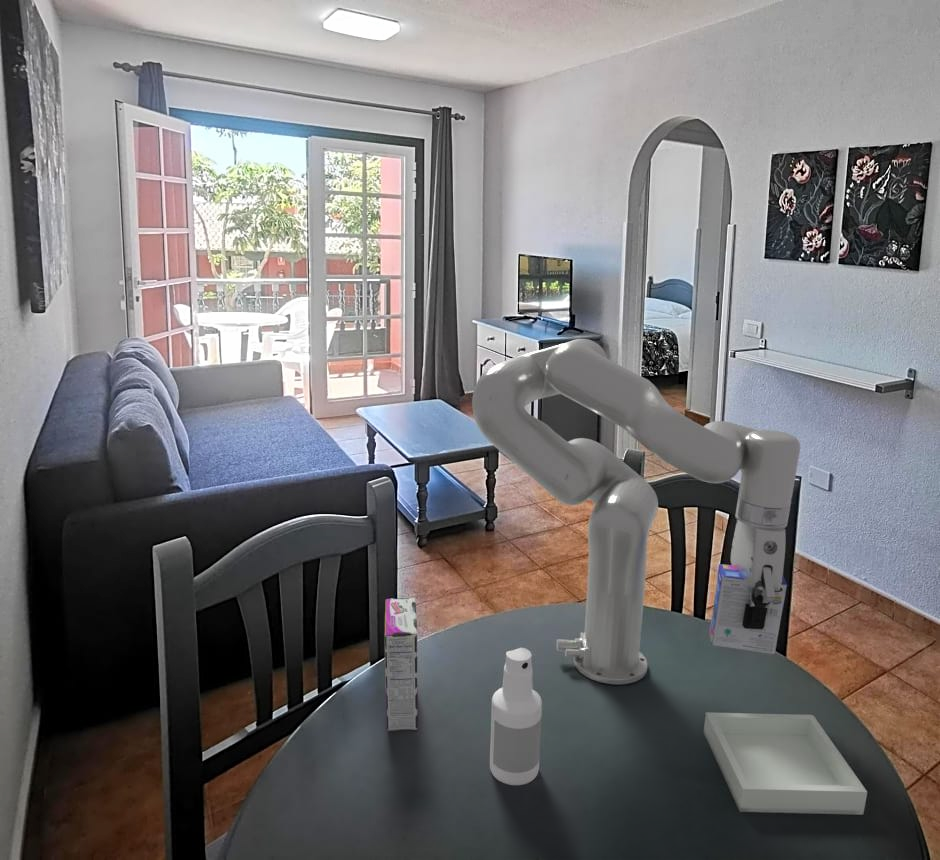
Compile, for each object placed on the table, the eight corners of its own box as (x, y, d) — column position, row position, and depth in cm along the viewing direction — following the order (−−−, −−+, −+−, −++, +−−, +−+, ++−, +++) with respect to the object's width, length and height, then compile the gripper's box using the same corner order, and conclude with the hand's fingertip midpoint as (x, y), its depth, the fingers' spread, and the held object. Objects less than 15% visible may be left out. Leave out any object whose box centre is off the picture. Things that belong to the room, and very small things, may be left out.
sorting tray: (739, 811, 97) (742, 788, 96) (703, 732, 112) (705, 712, 111) (863, 814, 97) (867, 791, 96) (809, 735, 112) (813, 714, 111)
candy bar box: (385, 689, 121) (384, 597, 117) (416, 688, 122) (416, 596, 118) (384, 733, 111) (383, 633, 107) (418, 731, 111) (418, 632, 107)
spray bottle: (505, 793, 99) (509, 673, 95) (480, 761, 105) (484, 647, 101) (548, 777, 102) (554, 660, 98) (522, 747, 108) (527, 636, 104)
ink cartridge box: (770, 637, 122) (784, 556, 118) (776, 656, 116) (792, 571, 113) (707, 628, 123) (719, 548, 119) (711, 646, 118) (724, 563, 114)
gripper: (811, 534, 106) (790, 647, 110) (765, 493, 122) (749, 592, 127) (758, 532, 106) (740, 645, 110) (720, 491, 122) (705, 590, 127)
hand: (745, 616), depth 119 cm, fingers closed on ink cartridge box, 6 cm apart
